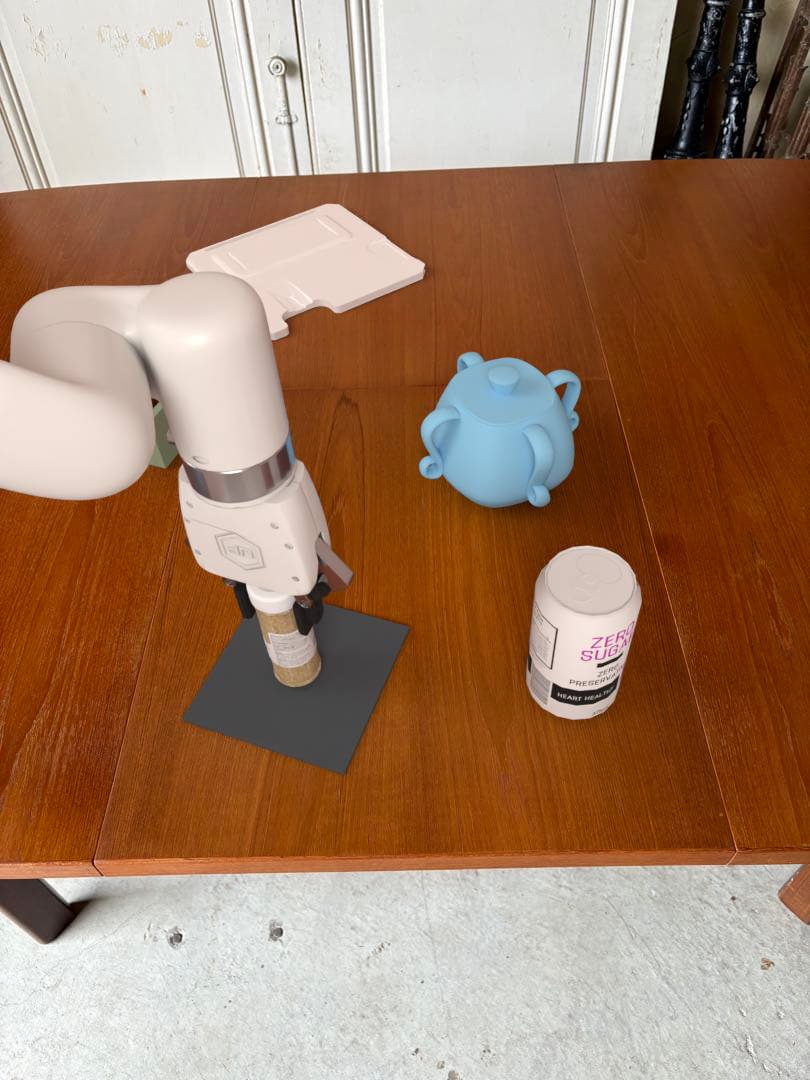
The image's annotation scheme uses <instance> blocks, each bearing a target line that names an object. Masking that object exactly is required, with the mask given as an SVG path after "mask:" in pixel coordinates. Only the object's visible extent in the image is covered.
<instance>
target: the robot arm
mask: <svg viewBox="0 0 810 1080" xmlns="http://www.w3.org/2000/svg"><path fill="white" fill-rule="evenodd" d="M273 345H274V344H273V340H271V336H270V331H269V326H268V321H267V317H266V313H265V309H264V305H263V303H262V300H261V298H260V296H259V295H258V294H257V292H256V291H255V290H254V288H253V287H252V286H251V285H249V284H248V283H247V282H246V281H244V280H243V279H241V278H239V277H236V276H233V275H230V274H227V273H222V272H211V271H207V272H195V273H193V272H190V273H185V274H182V275H178V276H175V277H172V278H171V279H168V280H165V281H164V282H162V283H160V284H145V285H71V286H63V287H57V288H52V289H48V290H45V291H43V292H41V293H38V294H37V295H35V296H33V297H31V298H30V299H29V300H27V301H26V302H24V304H23V305H22V307H20V309H19V311H18V312H17V314H16V315H15V318H14V319H13V324H12V328H11V333H10V349H9V351H10V352H9V353H10V355H9V361H5V360H3V359H0V489H2V490H7V491H11V492H15V493H20V494H24V495H28V496H33V497H38V498H39V497H41V498H46V499H51V500H61V501H91V500H97V499H98V500H99V499H103V498H107V497H110V496H113V495H114V496H115V495H116V494H118V493H120V492H123V491H125V490H127V489H128V488H130V487H131V486H132V485H133V484H135V483H136V482H137V481H139V479H140V478H141V477H142V476H143V474H144V473H145V472H146V471H147V469H148V468H149V466H150V465H149V463H150V460H151V458H152V455H153V452H154V446H155V425H154V415H153V408H154V407H153V402H152V399H153V400H156V401H158V403H159V402H160V403H161V405H162V407H163V410H164V413H165V415H166V418H167V421H168V424H169V427H170V428H169V429H168V432H167V441H168V443H170V444H173V445H176V447H177V449H178V452H179V453H178V455H179V458H180V460H181V466H180V467H179V470H178V476H177V477H178V498H179V505H180V506H179V507H180V511H181V516H182V521H183V524H184V525H183V526H184V529H185V532H186V536H187V537H186V538H185V539H184V544H185V545H186V546H187V547H188V548H189V549H191V552H192V554H193V556H194V559H195V561H196V563H197V564H198V565H199V567H201V568H202V569H203V570H205V571H207V572H208V573H211V574H213V575H216V576H219V577H222V582H223V584H224V585H226V586H227V587H229V588H232V590H233V593H234V596H235V599H236V602H237V605H238V608H239V610H240V614H241V616H242V618H243V619H244V618H246V619H250V618H252V617H253V616H254V614H255V613H256V610H255V607H254V606H253V605H252V603H251V601H250V598H249V595H248V592H247V588H246V584H250V585H253V586H257V587H261V588H264V589H268V590H272V591H276V592H280V593H284V594H288V595H293V596H294V597H295V599H296V600H295V602H294V604H293V612H294V616H295V620H296V624H297V628H298V632H300V634H301V635H304V636H307V635H308V634H309V632H310V630H311V628H312V627H313V625H314V624H318V623H319V622H320V620H321V618H322V616H323V612H324V607H323V603H324V602H323V598H325V597H328V596H329V595H330V593H332V592H333V593H337V592H340V591H344V590H348V589H349V588H350V585H351V584H352V582H353V580H354V578H355V573H354V571H352V569H351V568H349V566H347V564H346V563H345V562H344V561H343V560H342V559H341V558H340V557H339V556H338V555H337V554H336V553H335V552H334V551H333V549H332V542H331V541H332V540H331V535H330V530H329V527H328V523H327V520H326V516H325V512H324V508H323V505H322V503H321V500H320V497H319V495H318V491H317V489H316V487H315V484H314V482H313V480H312V478H311V475H310V473H309V471H308V469H307V467H306V465H305V464H304V462H303V461H301V460H299V459H297V456H296V452H295V451H296V450H295V448H294V447H295V446H294V442H293V439H292V433H291V428H290V423H289V418H288V413H287V409H286V403H285V398H284V394H283V389H282V385H281V379H280V375H279V371H278V366H277V361H276V355H275V351H274V347H273Z"/></svg>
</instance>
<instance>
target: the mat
mask: <svg viewBox="0 0 810 1080" xmlns="http://www.w3.org/2000/svg"><path fill="white" fill-rule="evenodd" d="M323 607H324V612H323V616H322V618H321V620H320V622H319V623H318V624H314V625H313V630H314V634H315V638H316V643H317V646H316V647H317V651H318V654H319V656H320V658H321V670H320V672H319V674H318V676H317V677H316V678H315V679H314V680H313V681H312V682H311V683H309V684H307V685H304V686H300V687H290V686H287V685H284V684H283V683H281V682H280V681H279V680H278V679H277V678H276V676H275V674H274V669H273V664H272V660H271V658H270V656H269V654H268V651H267V647H266V644H265V641H264V638H263V633H262V630H261V626H260V623H259V619H258V616H257V613H255V614H254V616H253V617H252V618H250V619H246V618H243V619H242V620H241V622H240V624H239V625H238V627H236V628H237V629H236V630H235V631H234V633H233V634H232V637H230V640H229V642H228V643H227V645H226V646H225V648H224V649H223V651H222V653H221V654H220V656H219V657H218V659H217V661H216V663H215V664H214V666H213V667H212V669H211V671H210V672H209V673H208V675H207V677H206V679H205V681H203V684H202V685H201V687H200V688H199V690H198V692H197V694H196V695H195V697H194V698H193V700H192V702H191V703H190V705H189V707H188V708H187V710H186V711H185V712H184V714H183V716H182V718H181V720H182V721H183V722H185V723H189V724H192V725H194V726H197V727H200V728H203V729H206V730H209V731H212V732H215V733H218V734H221V735H224V736H226V737H228V738H229V737H230V738H233V739H235V740H239V741H242V742H244V743H247V744H250V745H253V746H256V747H258V748H259V747H260V748H261V749H265V750H268V751H271V752H273V753H277V754H280V755H283V756H286V757H289V758H292V759H294V760H298V761H301V762H304V763H307V764H310V765H313V766H315V767H318V768H322V769H325V770H327V771H330V772H333V773H337V774H340V775H341V776H345V775H346V773H347V771H348V768H349V766H350V765H351V762H352V759H353V757H354V755H355V754H356V753H355V752H356V750H357V748H358V746H359V744H360V742H361V740H362V737H363V735H364V732H365V731H366V728H367V726H368V724H369V722H370V720H371V717H372V715H373V713H374V710H375V708H376V706H377V704H378V701H379V700H380V697H381V694H382V693H383V691H384V688H385V686H386V684H387V682H388V680H389V677H390V675H391V672H392V670H393V668H394V667H395V664H396V661H397V659H398V657H399V655H400V653H401V650H402V648H403V646H404V644H405V641H406V639H407V637H408V635H409V632H410V630H411V627H410V626H408V625H404V624H400V623H397V622H393V621H390V620H387V619H383V618H379V617H375V616H372V615H368V614H365V613H362V612H358V611H353V610H350V609H346V608H343V607H340V606H336V605H333V604H328V603H325V602H323Z"/></svg>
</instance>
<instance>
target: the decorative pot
mask: <svg viewBox="0 0 810 1080" xmlns="http://www.w3.org/2000/svg"><path fill="white" fill-rule="evenodd" d="M456 362H457V363H456V370H457V373H456V374H455V375H454V376H453V377H452V378H451V379H450V381H449V382H448V384H447V386H446V387H445V389H444V391H443V392H442V394H441V395H440V397H439V400H438V402H437V404H436V406H435V409H434V410H433V411H431V412H430V413H429V414H428V415H426V417H424V419H423V421H422V422H421V425H420V436H421V440H422V442H423V445H424V447H425V448H426V450H427V453H428V454H429V455H426V456H424V457H422V458H421V460H420V461H419V464H418V469H419V473H420V475H421V476H422V477H424V478H425V479H428V480H436V479H439V478H441V477H442V476H443V477H444V479H445V480H446V481H447V482H448V483H449V484H450V485H451V486H452V487H453V488H454V489H455V490H456V491H457V492H459V493H460V494H461V495H463V496H464V497H465V498H466V499H468V500H470V501H471V502H473V503H474V504H477V505H479V506H482V507H486V508H493V509H494V508H504V507H511V506H514V505H518V504H521V503H525V502H528V501H529V503H530V504H531V505H532V506H534V507H538V508H541V507H542V508H543V507H545V506H547V505H548V504H549V503H550V502H551V495H550V491H551V490H553V489H555V488H556V487H558V486H559V485H560V484H562V482H564V480H566V479H567V478H568V476H569V475H570V474H571V472H572V470H573V467H574V462H575V454H576V453H575V441H574V434H573V432H574V431H576V429H577V427H579V424H580V417H579V415H578V412H577V411H575V410H574V409H575V407H576V405H577V402H578V400H579V398H580V394H581V390H582V385H581V380H580V379H579V377H578V376H577V375H576V374H575V373H574V372H572V371H570V370H568V369H556V370H554V371H550V372H549V373H548V374H546V375H545V374H543V373H542V372H541V371H540V370H539V369H538V368H536V367H535V366H534V365H532V364H530V363H528V362H526V361H524V360H523V359H520V358H514V357H501V358H496V359H491V360H487V361H485V359H484V358H483V357H482V356H481V355H480V353H478V352H475V351H468V352H465V353H462V354H460V356H458V359H457V361H456ZM566 383H567V384H566ZM563 384H566V388H565V391H564V394H563V396H562V398H560V396H559V394H558V393H557V390H556V388H557V387H558V386H561V385H563Z"/></svg>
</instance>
